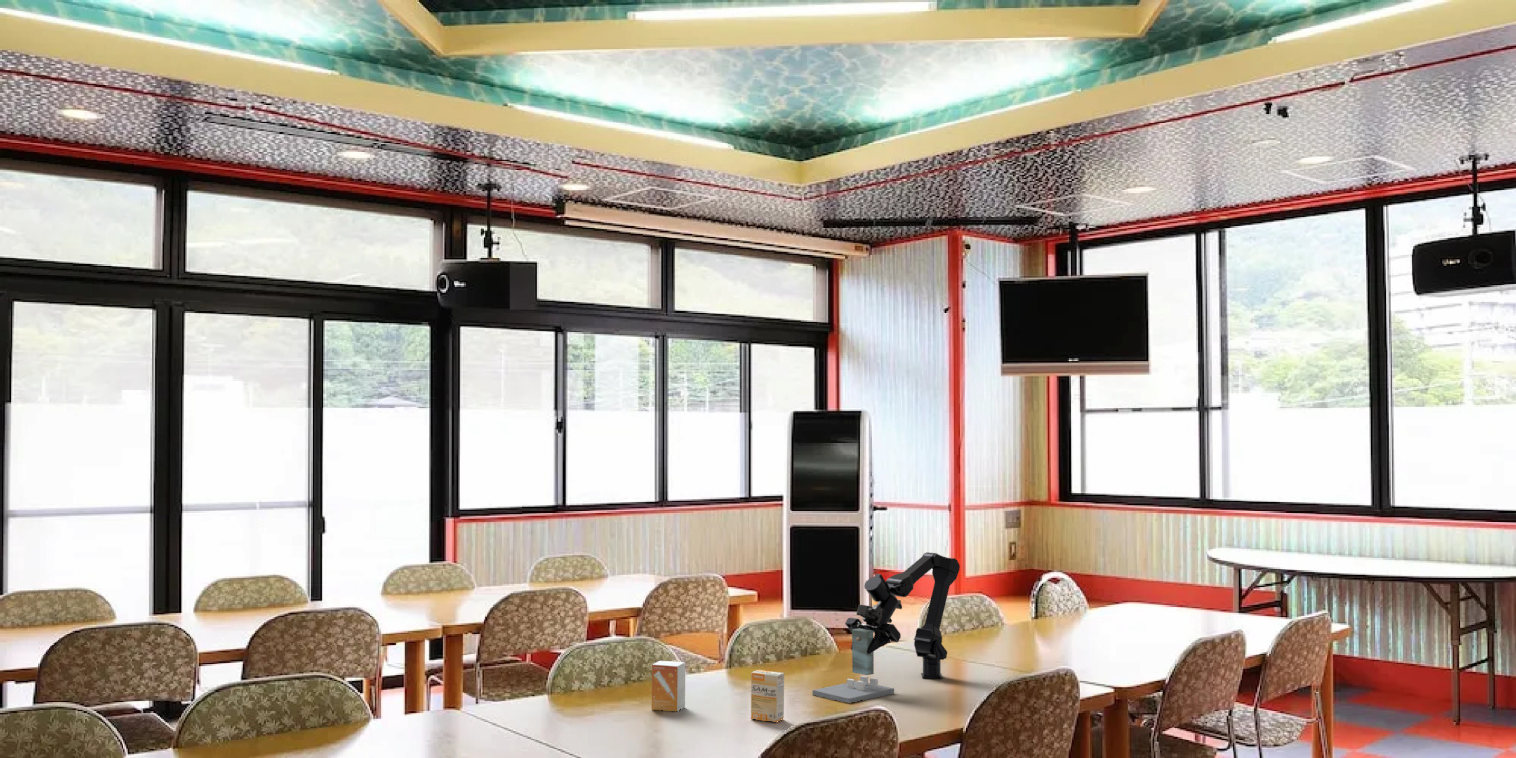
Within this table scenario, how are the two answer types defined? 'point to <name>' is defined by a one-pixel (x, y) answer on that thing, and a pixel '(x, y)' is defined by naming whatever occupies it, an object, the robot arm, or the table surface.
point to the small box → (668, 685)
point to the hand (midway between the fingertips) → (859, 651)
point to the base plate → (854, 690)
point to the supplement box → (767, 695)
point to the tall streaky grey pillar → (862, 652)
